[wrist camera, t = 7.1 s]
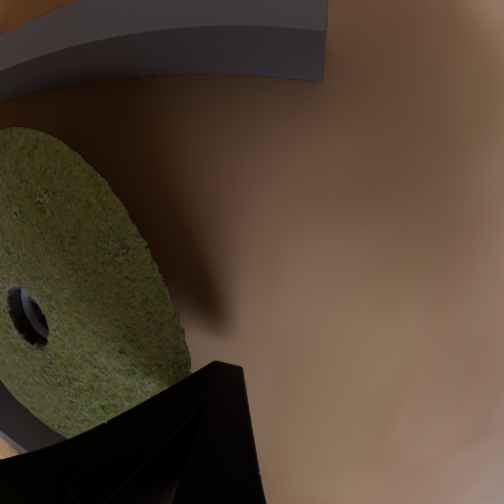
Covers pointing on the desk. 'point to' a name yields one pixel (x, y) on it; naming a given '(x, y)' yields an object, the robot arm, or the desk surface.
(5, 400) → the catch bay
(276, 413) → the desk surface
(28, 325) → the green speckled disc
